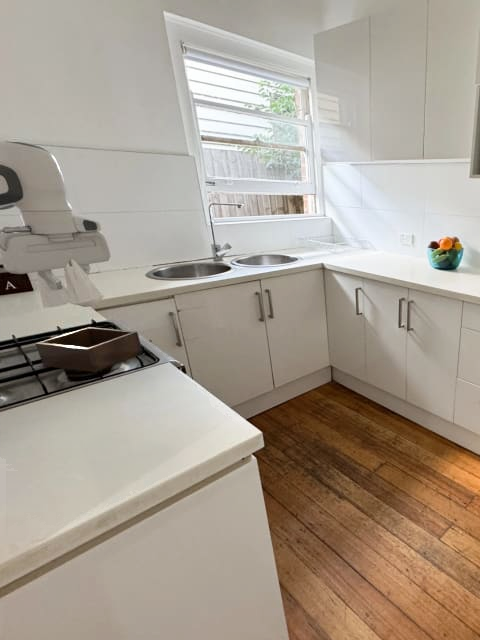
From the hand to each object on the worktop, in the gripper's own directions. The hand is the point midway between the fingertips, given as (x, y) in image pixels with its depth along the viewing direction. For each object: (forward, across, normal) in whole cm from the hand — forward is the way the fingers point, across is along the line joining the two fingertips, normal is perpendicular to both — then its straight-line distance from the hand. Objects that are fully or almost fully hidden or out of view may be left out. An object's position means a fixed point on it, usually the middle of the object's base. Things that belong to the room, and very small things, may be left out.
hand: (70, 286), depth 88 cm
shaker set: (+5, 0, 0) cm, 5 cm away
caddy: (+18, 0, 0) cm, 18 cm away
